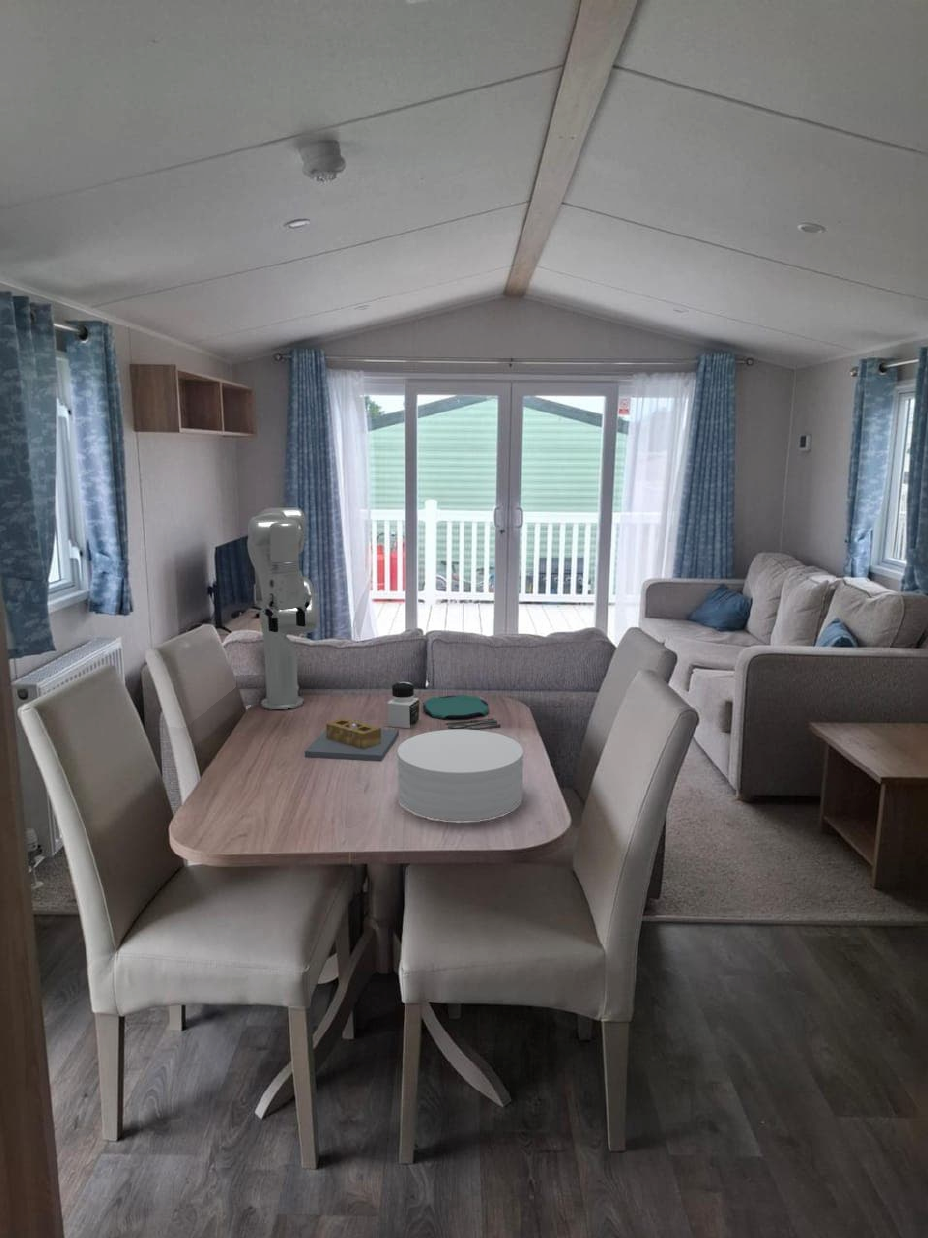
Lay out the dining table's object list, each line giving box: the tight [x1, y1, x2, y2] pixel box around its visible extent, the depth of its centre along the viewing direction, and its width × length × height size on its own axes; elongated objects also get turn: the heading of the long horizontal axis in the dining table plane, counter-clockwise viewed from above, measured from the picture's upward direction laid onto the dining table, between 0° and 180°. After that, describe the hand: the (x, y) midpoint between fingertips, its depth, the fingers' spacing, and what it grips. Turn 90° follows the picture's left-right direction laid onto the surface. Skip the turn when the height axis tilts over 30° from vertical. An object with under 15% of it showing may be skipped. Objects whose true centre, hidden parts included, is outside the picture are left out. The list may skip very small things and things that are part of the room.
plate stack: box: [397, 728, 524, 821], centre depth 190 cm, size 28×28×12 cm
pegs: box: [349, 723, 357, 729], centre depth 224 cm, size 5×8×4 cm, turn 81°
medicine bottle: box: [386, 681, 420, 729], centre depth 241 cm, size 7×7×12 cm
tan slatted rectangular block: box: [325, 717, 382, 749], centre depth 224 cm, size 14×6×4 cm, turn 52°
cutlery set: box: [422, 694, 502, 731], centre depth 251 cm, size 20×30×2 cm, turn 16°
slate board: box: [304, 728, 400, 762], centre depth 224 cm, size 20×20×2 cm
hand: (287, 628), depth 235 cm, fingers open, 9 cm apart
